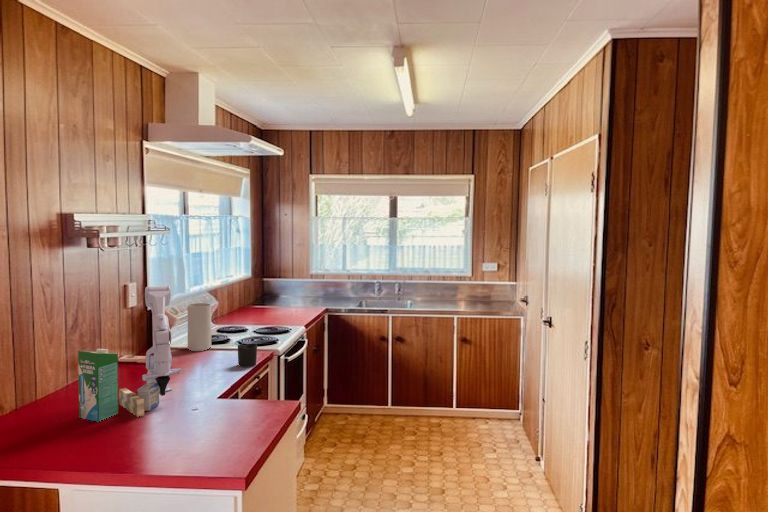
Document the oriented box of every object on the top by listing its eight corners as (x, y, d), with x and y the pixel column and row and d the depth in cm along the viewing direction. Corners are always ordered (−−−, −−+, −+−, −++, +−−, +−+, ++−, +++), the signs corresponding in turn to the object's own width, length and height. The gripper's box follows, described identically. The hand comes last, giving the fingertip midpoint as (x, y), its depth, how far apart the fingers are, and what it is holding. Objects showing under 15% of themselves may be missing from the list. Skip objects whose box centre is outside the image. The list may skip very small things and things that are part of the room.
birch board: (119, 404, 203) (119, 388, 202) (126, 403, 205) (125, 387, 204) (137, 417, 190) (137, 400, 190) (144, 415, 192) (144, 398, 192)
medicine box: (150, 411, 196) (148, 388, 196) (138, 411, 196) (137, 388, 196) (159, 403, 204) (158, 382, 203) (148, 403, 204) (147, 382, 204)
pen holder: (250, 368, 256) (250, 348, 256) (233, 366, 259) (233, 346, 259) (260, 363, 265) (260, 344, 265) (244, 361, 268) (244, 342, 268)
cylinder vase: (194, 345, 300) (194, 302, 298) (215, 347, 298) (215, 303, 296) (183, 351, 287) (183, 306, 286) (204, 352, 286) (204, 307, 284)
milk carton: (118, 413, 193) (117, 347, 191) (98, 422, 185) (97, 353, 183) (100, 410, 196) (99, 345, 194) (78, 419, 187) (77, 350, 186)
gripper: (147, 366, 196) (147, 401, 197) (184, 359, 206) (185, 393, 207) (140, 362, 201) (140, 397, 202) (176, 356, 211) (177, 389, 212)
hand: (162, 394), depth 205 cm, fingers closed
